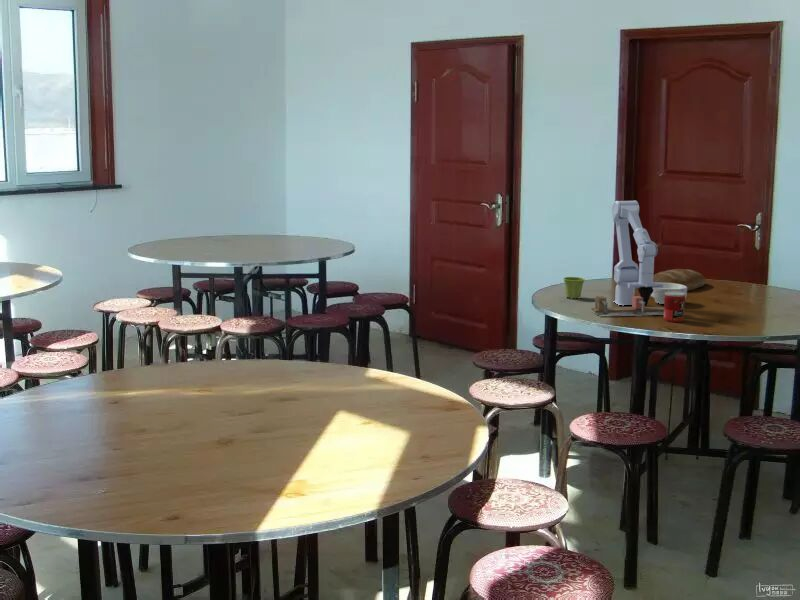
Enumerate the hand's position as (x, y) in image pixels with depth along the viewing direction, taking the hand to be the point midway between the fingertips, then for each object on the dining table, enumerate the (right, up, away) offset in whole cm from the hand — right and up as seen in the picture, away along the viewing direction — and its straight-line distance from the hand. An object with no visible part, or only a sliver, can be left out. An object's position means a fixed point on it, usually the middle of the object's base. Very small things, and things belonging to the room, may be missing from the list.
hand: (644, 305), depth 407 cm
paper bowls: (+15, 0, +19) cm, 24 cm away
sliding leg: (-3, -2, -3) cm, 4 cm away
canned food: (+7, -6, -16) cm, 19 cm away
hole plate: (-6, -4, -6) cm, 9 cm away
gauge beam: (-6, -3, -3) cm, 7 cm away
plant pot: (-24, +3, +31) cm, 39 cm away
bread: (+29, +8, +59) cm, 66 cm away
